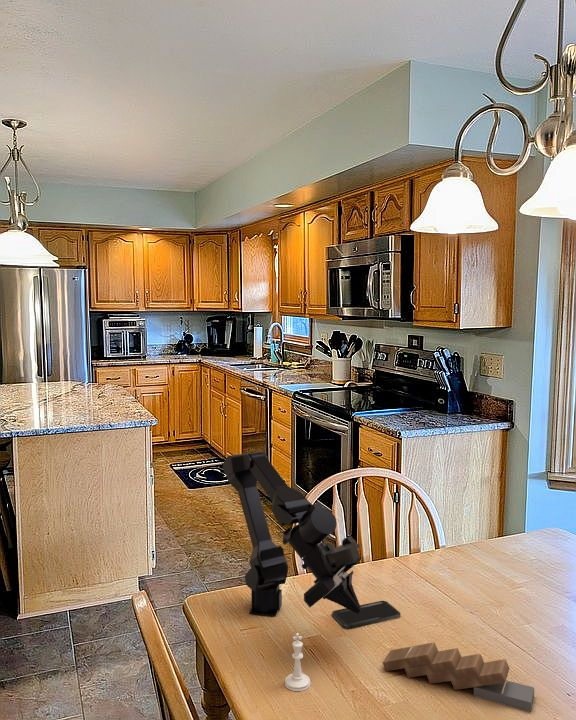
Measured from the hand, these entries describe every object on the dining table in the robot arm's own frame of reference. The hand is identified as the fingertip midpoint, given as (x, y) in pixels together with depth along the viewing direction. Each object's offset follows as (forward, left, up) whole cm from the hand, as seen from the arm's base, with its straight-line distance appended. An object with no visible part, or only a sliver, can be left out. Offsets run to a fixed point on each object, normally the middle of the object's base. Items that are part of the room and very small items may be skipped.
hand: (359, 611), depth 128 cm
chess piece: (-11, -12, -10) cm, 19 cm away
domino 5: (+23, -6, -9) cm, 25 cm away
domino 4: (+19, -5, -9) cm, 22 cm away
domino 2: (+11, -3, -9) cm, 14 cm away
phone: (0, +17, -10) cm, 20 cm away
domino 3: (+15, -4, -9) cm, 18 cm away
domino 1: (+6, -2, -9) cm, 11 cm away
